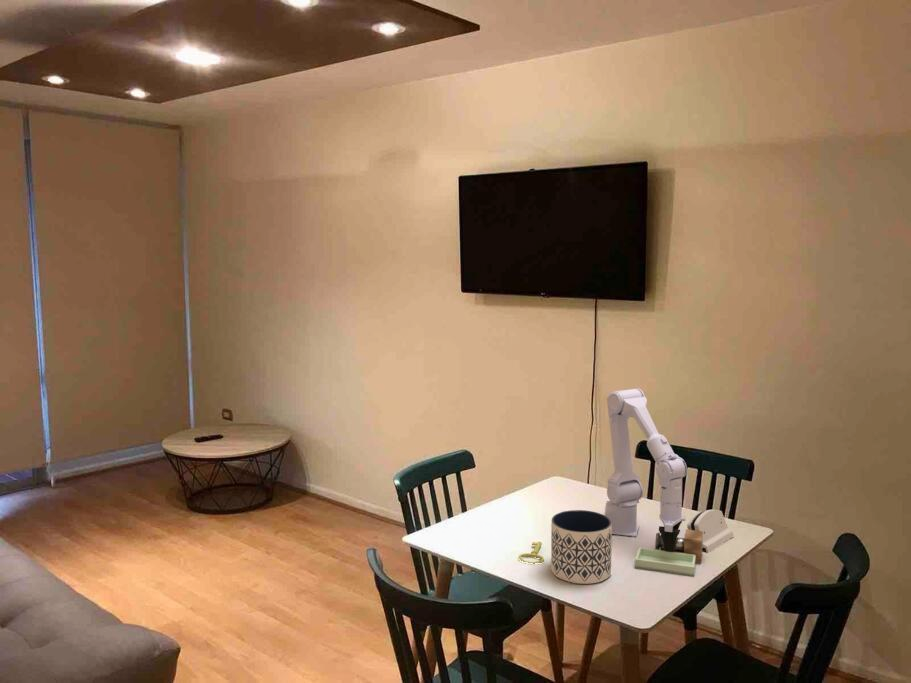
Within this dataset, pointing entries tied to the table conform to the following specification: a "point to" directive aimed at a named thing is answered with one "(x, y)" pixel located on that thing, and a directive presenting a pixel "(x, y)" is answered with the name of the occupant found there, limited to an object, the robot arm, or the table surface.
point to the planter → (581, 546)
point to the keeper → (692, 544)
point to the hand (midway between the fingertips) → (670, 547)
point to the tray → (665, 561)
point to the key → (533, 553)
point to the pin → (659, 543)
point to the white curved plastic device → (711, 528)
